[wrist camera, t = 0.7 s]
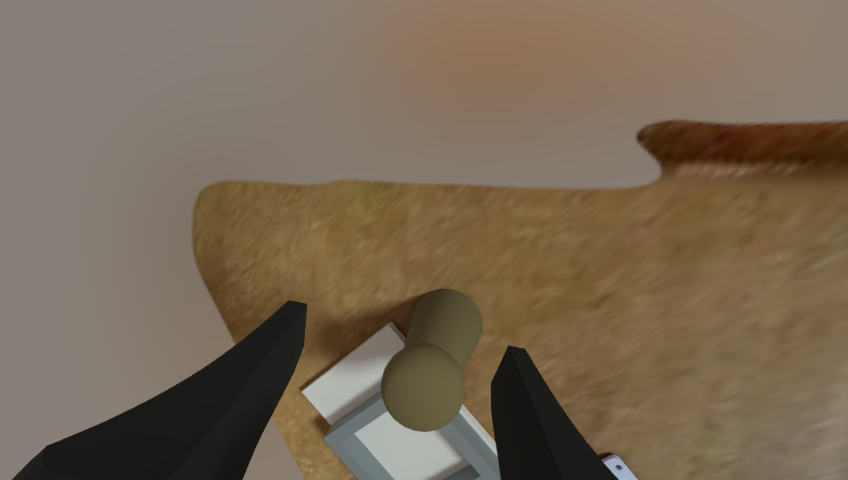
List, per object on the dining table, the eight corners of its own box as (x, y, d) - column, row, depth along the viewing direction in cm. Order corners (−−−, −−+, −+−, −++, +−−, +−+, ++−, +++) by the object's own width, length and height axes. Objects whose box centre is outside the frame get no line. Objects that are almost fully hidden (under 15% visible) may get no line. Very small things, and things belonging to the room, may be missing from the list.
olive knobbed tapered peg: (420, 357, 33) (379, 450, 23) (406, 293, 32) (355, 360, 22) (488, 351, 31) (477, 449, 21) (475, 284, 30) (457, 352, 20)
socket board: (507, 455, 33) (506, 482, 31) (410, 507, 37) (403, 534, 34) (391, 321, 33) (380, 335, 30) (305, 386, 37) (289, 405, 34)
